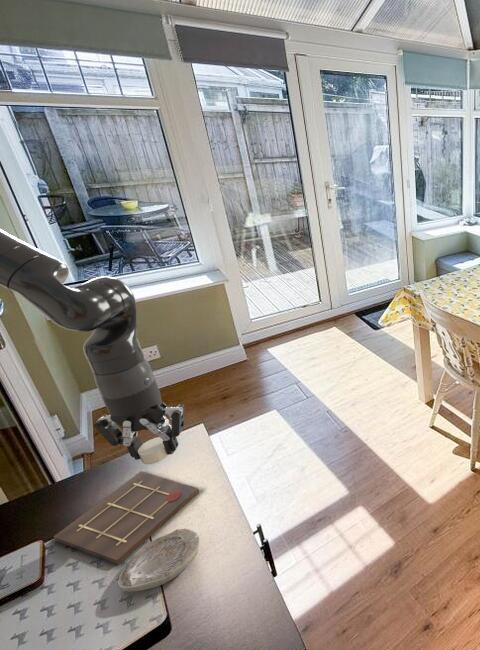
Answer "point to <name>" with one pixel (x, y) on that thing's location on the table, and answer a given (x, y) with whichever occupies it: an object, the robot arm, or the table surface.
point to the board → (127, 517)
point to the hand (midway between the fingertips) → (156, 453)
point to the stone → (152, 451)
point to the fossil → (159, 560)
